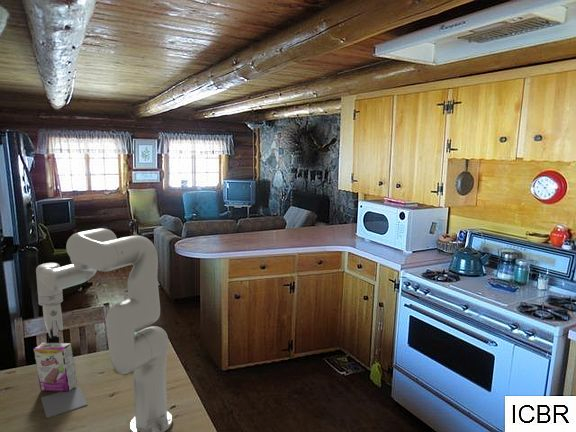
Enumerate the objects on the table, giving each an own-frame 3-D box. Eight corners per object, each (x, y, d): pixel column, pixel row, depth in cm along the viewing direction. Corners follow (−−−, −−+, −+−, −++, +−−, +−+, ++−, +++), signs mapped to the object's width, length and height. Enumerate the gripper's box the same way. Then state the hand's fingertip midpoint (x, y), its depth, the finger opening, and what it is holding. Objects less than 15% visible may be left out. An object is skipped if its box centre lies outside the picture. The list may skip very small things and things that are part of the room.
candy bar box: (39, 391, 146) (32, 349, 143) (48, 383, 151) (42, 341, 148) (69, 392, 145) (62, 349, 142) (78, 384, 150) (71, 342, 147)
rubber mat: (87, 405, 139) (87, 404, 139) (46, 418, 132) (46, 417, 132) (79, 387, 150) (79, 386, 149) (40, 398, 142) (40, 397, 142)
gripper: (66, 302, 144) (69, 352, 147) (59, 290, 155) (62, 336, 158) (41, 306, 139) (45, 358, 142) (35, 294, 151) (39, 341, 154)
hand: (54, 346), depth 150 cm, fingers closed
